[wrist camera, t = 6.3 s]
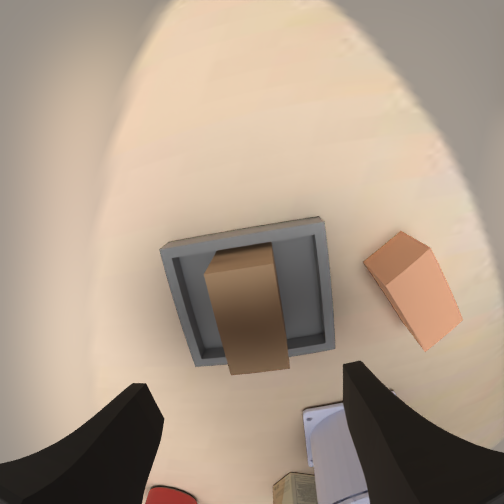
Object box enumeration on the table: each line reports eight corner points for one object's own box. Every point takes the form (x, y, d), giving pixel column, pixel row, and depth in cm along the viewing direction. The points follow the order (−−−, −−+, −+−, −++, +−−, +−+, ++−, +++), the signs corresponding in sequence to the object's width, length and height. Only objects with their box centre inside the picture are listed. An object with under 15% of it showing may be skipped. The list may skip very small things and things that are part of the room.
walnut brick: (285, 330, 19) (289, 368, 15) (237, 336, 19) (231, 375, 15) (271, 240, 17) (273, 263, 13) (217, 250, 17) (203, 274, 14)
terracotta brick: (434, 294, 18) (462, 319, 15) (402, 321, 19) (425, 351, 15) (400, 230, 17) (430, 247, 13) (362, 261, 18) (385, 286, 14)
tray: (330, 335, 19) (335, 348, 18) (200, 352, 20) (195, 366, 18) (318, 216, 17) (324, 221, 15) (168, 242, 18) (159, 249, 16)
